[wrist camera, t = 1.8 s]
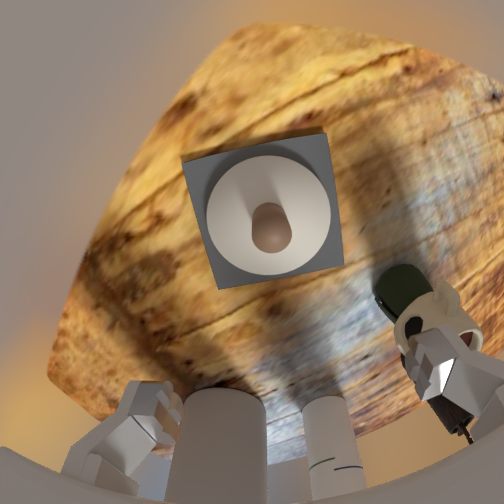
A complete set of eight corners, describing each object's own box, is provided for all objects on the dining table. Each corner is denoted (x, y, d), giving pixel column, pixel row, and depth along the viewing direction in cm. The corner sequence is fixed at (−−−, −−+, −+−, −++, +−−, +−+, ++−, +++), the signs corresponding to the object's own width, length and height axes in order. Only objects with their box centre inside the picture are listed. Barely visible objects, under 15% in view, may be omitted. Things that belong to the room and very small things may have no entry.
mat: (324, 132, 23) (326, 132, 22) (342, 262, 28) (344, 265, 27) (183, 162, 24) (181, 163, 23) (219, 286, 29) (218, 289, 28)
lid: (317, 145, 23) (332, 147, 18) (334, 257, 27) (348, 283, 22) (194, 171, 24) (180, 180, 19) (225, 279, 28) (220, 308, 23)
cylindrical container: (343, 416, 39) (369, 545, 16) (301, 422, 39) (315, 557, 16) (349, 392, 36) (385, 540, 13) (302, 399, 37) (321, 556, 14)
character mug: (370, 246, 27) (434, 320, 15) (425, 237, 26) (500, 297, 14) (366, 328, 31) (404, 411, 19) (415, 316, 31) (463, 387, 19)
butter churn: (436, 366, 35) (502, 500, 9) (386, 384, 36) (439, 539, 10) (448, 324, 31) (541, 474, 6) (393, 344, 32) (471, 527, 7)
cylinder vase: (178, 381, 35) (141, 545, 12) (268, 386, 35) (273, 560, 12) (190, 425, 40) (169, 552, 17) (263, 429, 40) (265, 561, 17)
